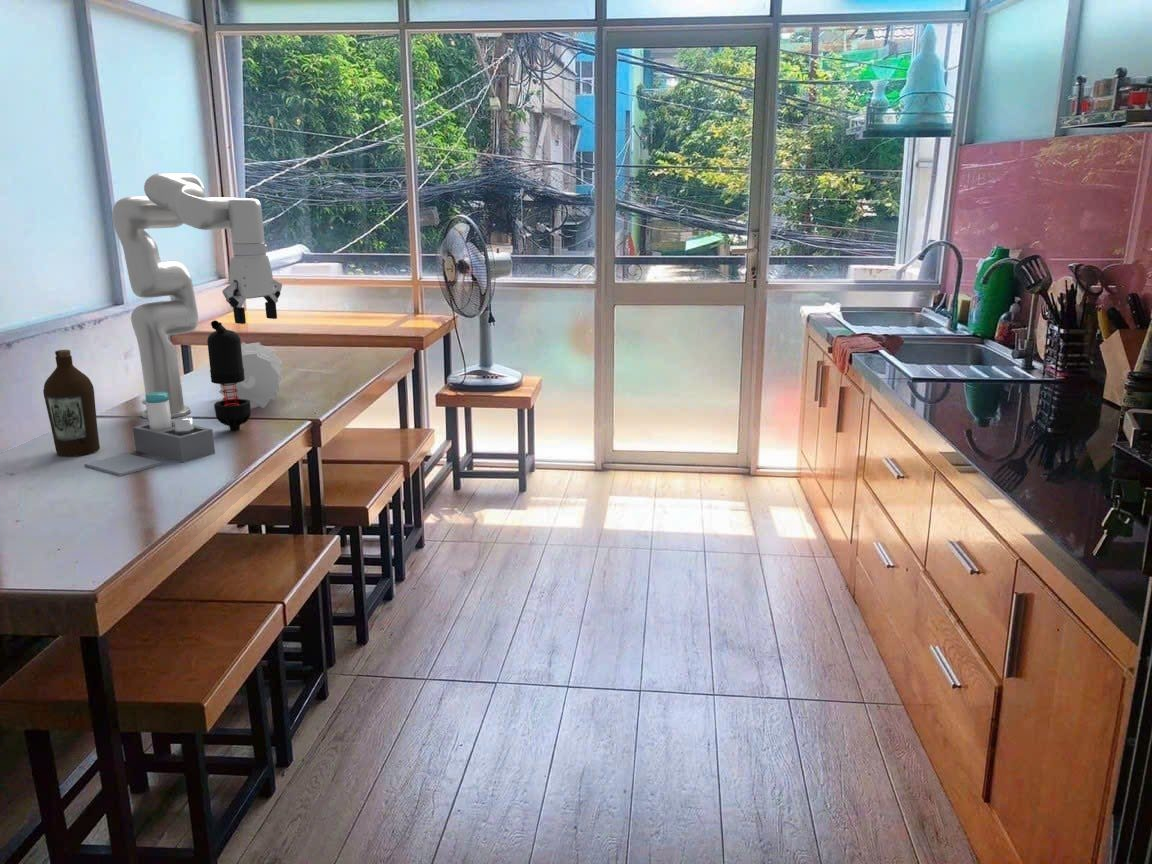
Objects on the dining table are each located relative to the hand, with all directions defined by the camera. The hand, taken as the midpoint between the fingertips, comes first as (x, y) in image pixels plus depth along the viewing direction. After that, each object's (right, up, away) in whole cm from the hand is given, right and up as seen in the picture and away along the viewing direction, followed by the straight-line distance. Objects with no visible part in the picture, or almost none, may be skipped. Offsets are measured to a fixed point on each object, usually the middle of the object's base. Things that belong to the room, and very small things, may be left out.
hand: (256, 320), depth 222 cm
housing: (-19, -32, -3) cm, 38 cm away
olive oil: (-43, -33, -3) cm, 54 cm away
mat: (-26, -35, -14) cm, 46 cm away
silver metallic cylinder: (-15, -29, -7) cm, 33 cm away
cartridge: (-22, -32, -1) cm, 39 cm away
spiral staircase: (-17, -19, +45) cm, 52 cm away
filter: (-11, -27, +17) cm, 34 cm away
